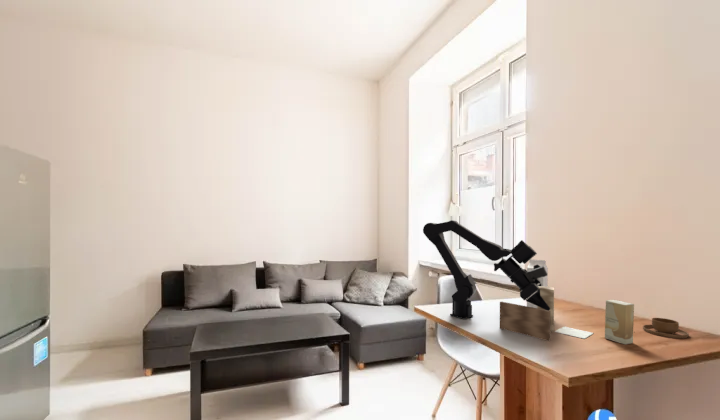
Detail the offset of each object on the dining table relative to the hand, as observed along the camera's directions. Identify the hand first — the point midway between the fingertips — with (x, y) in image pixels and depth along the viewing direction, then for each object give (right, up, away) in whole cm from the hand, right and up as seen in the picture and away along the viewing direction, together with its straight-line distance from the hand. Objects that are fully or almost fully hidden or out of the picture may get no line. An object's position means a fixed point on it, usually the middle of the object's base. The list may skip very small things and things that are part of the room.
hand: (549, 307), depth 123 cm
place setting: (+36, -9, +1) cm, 37 cm away
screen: (-12, -7, -6) cm, 15 cm away
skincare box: (+16, -8, -11) cm, 21 cm away
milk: (+4, -8, +17) cm, 19 cm away
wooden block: (-1, -7, 0) cm, 8 cm away
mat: (+6, -7, -4) cm, 10 cm away
